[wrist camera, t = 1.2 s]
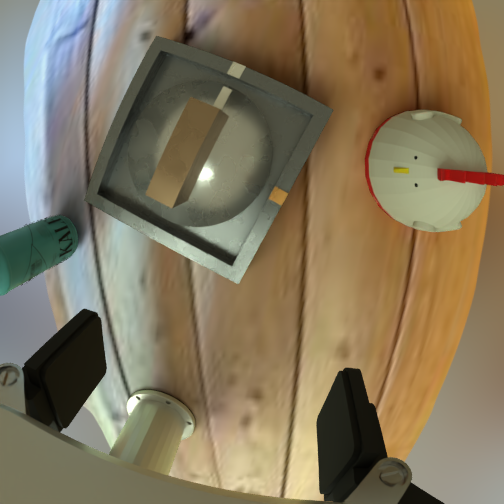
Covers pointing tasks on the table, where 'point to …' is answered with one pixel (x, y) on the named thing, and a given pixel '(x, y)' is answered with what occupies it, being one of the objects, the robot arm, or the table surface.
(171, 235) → the dial housing
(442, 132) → the kitchen timer
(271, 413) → the table surface
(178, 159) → the dial
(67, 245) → the beverage bottle
